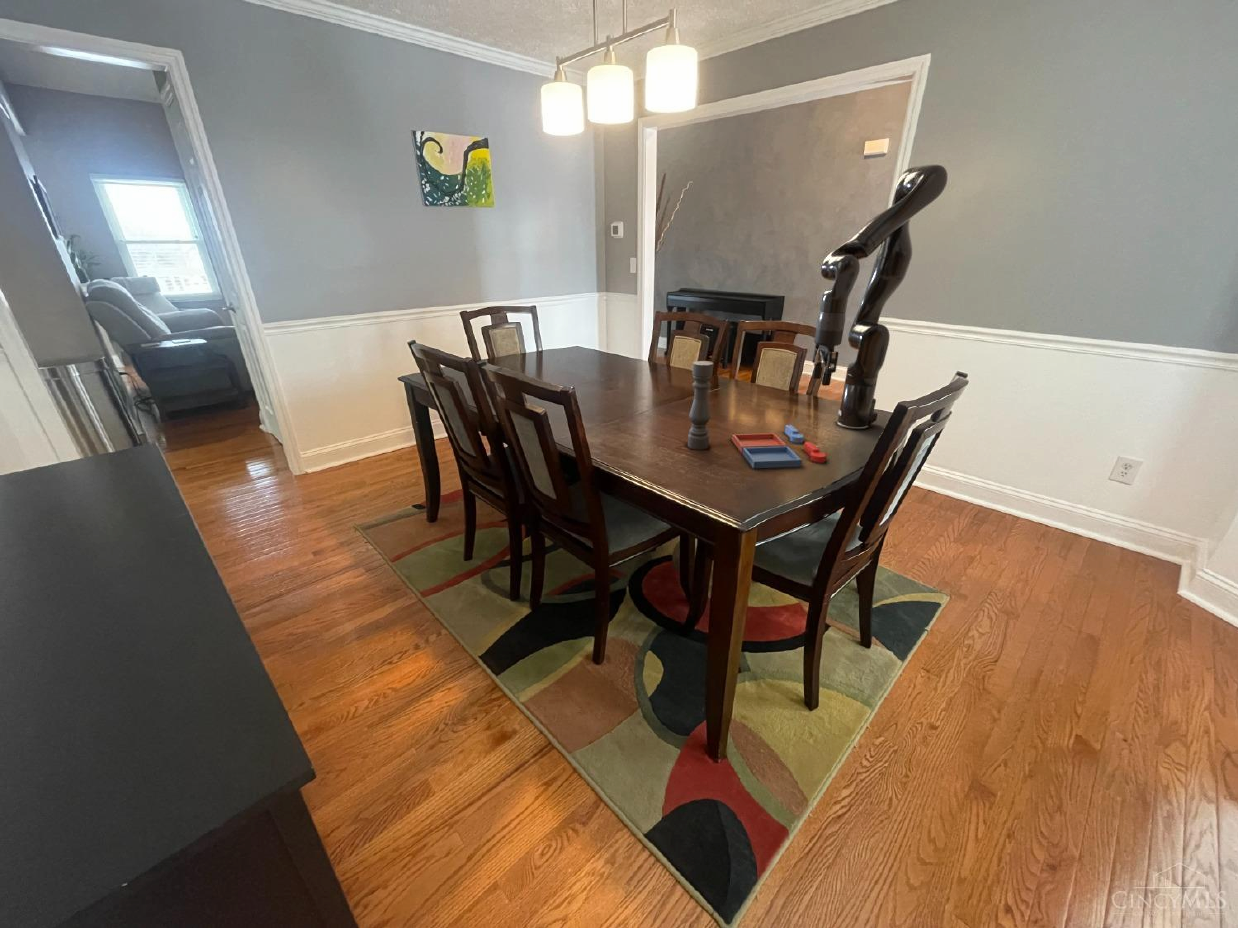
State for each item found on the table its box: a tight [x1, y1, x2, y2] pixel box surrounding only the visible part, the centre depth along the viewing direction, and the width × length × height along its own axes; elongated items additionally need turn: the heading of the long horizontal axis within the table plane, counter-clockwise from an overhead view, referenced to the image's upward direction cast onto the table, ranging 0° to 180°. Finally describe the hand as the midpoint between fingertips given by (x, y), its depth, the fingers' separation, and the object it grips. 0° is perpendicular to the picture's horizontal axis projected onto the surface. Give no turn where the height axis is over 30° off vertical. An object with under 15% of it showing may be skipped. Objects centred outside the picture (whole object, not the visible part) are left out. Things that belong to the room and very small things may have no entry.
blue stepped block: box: [784, 424, 805, 444], centre depth 153 cm, size 9×4×3 cm, turn 4°
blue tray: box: [741, 445, 803, 469], centre depth 137 cm, size 13×10×2 cm
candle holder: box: [687, 360, 714, 451], centre depth 143 cm, size 6×6×25 cm
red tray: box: [731, 432, 788, 454], centre depth 147 cm, size 13×10×2 cm
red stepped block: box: [803, 441, 827, 464], centre depth 139 cm, size 9×4×3 cm, turn 4°
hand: (820, 381), depth 151 cm, fingers open, 8 cm apart
